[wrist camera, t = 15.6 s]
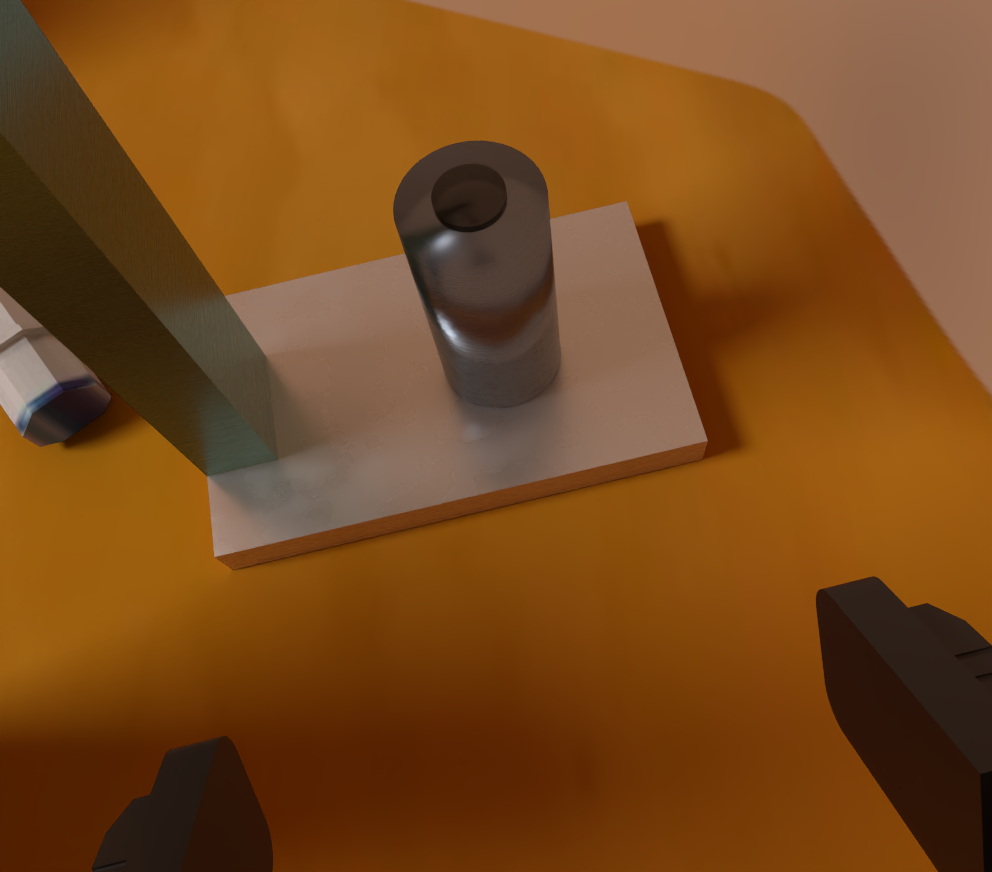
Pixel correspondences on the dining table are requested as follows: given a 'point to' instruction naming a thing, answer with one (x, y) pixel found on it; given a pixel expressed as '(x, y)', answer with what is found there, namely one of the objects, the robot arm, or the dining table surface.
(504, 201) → the cylinder
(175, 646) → the dining table surface
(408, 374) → the press
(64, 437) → the white handheld tool
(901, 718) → the robot arm
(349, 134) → the dining table surface
